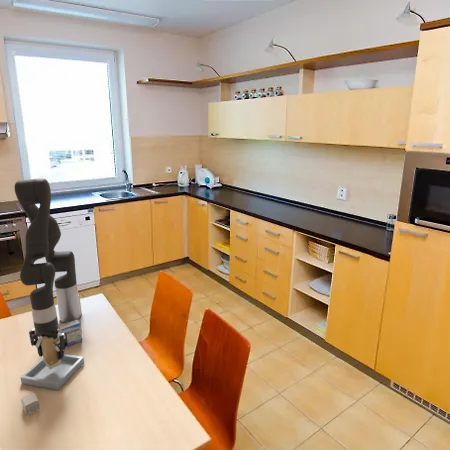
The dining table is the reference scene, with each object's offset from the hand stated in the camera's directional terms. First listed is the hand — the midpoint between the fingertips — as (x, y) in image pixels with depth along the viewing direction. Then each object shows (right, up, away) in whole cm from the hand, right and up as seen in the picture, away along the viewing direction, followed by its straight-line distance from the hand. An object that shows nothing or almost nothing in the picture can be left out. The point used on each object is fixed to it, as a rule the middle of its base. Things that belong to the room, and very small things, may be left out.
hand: (51, 356), depth 129 cm
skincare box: (0, -3, +1) cm, 3 cm away
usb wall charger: (+1, -12, -15) cm, 19 cm away
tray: (0, -7, +2) cm, 7 cm away
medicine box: (-2, -2, +21) cm, 21 cm away
